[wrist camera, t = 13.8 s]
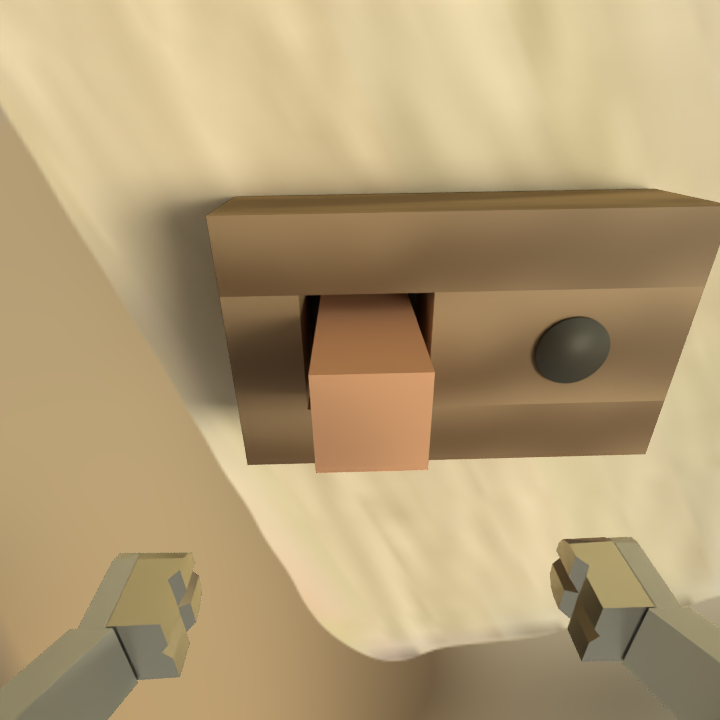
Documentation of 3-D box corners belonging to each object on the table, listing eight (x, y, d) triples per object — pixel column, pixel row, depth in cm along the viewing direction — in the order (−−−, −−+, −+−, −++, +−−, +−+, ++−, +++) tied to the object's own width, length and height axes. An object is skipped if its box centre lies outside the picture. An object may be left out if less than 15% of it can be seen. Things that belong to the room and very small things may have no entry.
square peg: (323, 278, 23) (308, 375, 14) (401, 276, 23) (435, 372, 14) (327, 348, 25) (315, 472, 16) (399, 346, 25) (427, 469, 16)
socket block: (235, 196, 21) (204, 216, 17) (654, 188, 22) (737, 206, 17) (264, 408, 27) (246, 467, 22) (596, 400, 27) (647, 456, 23)
